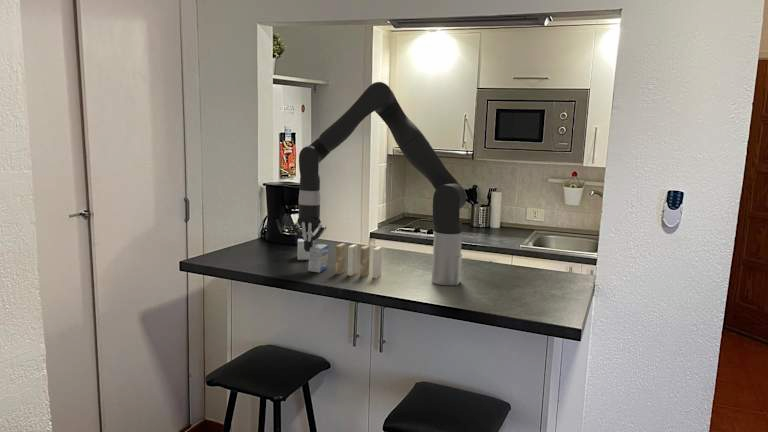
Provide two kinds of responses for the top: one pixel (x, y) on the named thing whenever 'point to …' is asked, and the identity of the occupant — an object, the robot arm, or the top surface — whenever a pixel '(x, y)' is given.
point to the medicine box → (318, 258)
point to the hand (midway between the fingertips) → (308, 251)
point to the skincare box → (302, 251)
